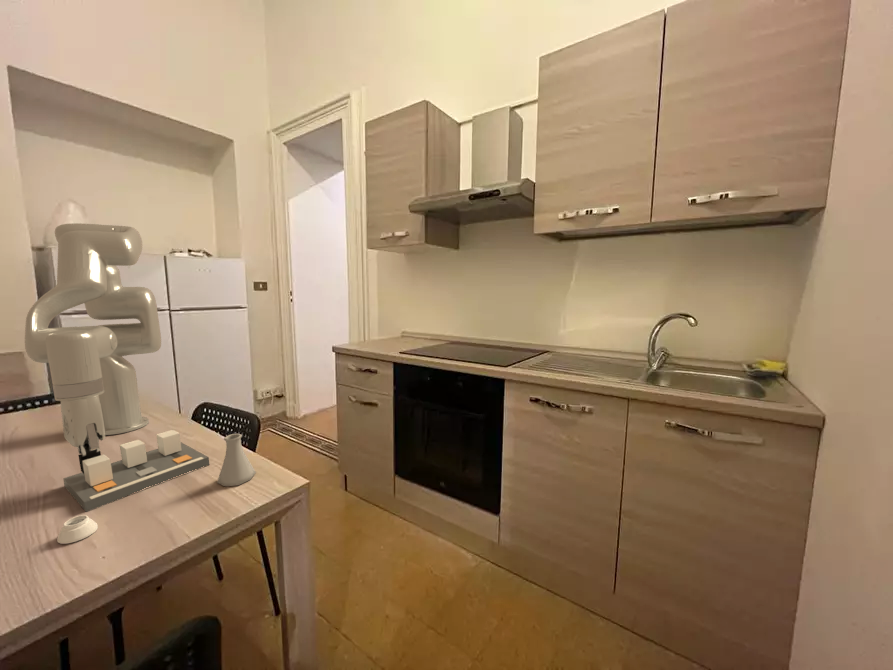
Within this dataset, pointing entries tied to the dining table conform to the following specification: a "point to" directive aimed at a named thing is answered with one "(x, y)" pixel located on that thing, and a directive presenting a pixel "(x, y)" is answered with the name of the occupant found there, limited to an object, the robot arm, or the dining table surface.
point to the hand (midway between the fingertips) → (92, 470)
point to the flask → (235, 463)
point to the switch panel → (134, 476)
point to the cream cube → (168, 442)
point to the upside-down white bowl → (76, 529)
